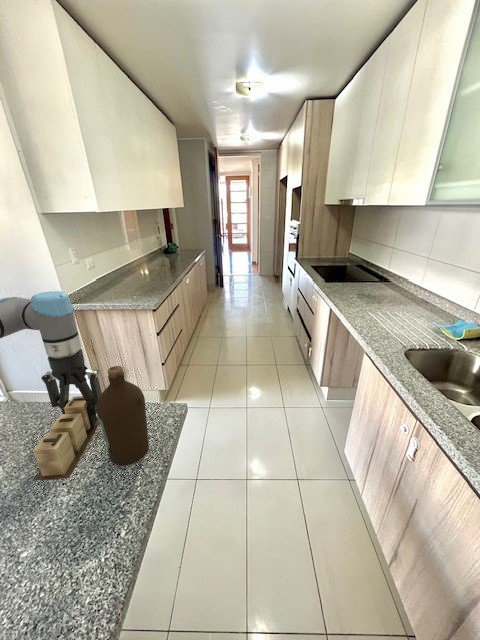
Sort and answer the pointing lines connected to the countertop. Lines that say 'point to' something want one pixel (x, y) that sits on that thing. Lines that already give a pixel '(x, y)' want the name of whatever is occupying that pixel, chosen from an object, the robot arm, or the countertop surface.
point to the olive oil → (123, 419)
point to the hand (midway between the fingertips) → (83, 423)
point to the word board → (76, 459)
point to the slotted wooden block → (78, 409)
